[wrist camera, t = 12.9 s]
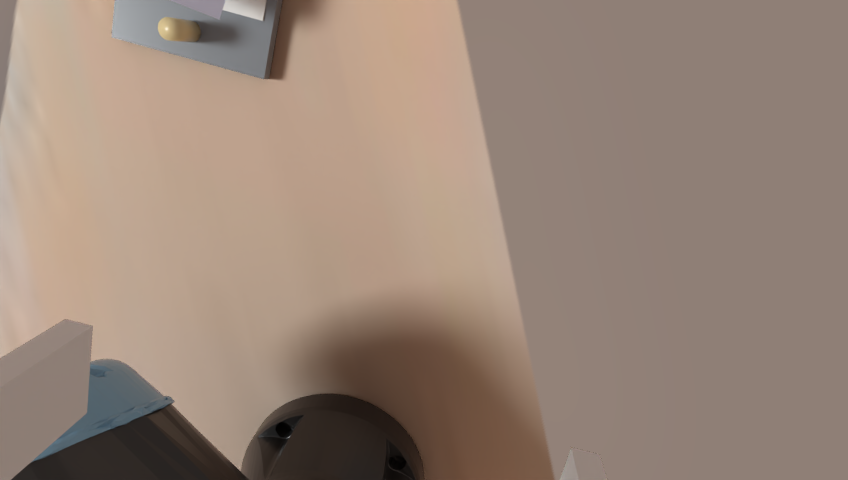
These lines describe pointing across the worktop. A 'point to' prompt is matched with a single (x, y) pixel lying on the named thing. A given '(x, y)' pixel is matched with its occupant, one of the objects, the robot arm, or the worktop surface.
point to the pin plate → (204, 32)
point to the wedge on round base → (204, 6)
